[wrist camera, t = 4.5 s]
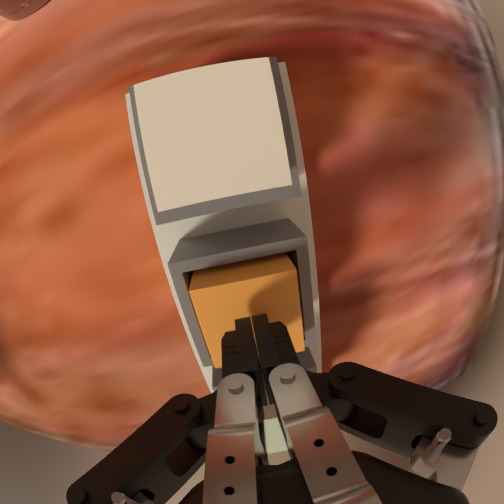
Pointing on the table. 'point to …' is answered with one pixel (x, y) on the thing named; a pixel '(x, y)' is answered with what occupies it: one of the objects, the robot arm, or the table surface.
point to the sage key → (273, 429)
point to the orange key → (246, 298)
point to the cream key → (212, 133)
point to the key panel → (239, 233)
